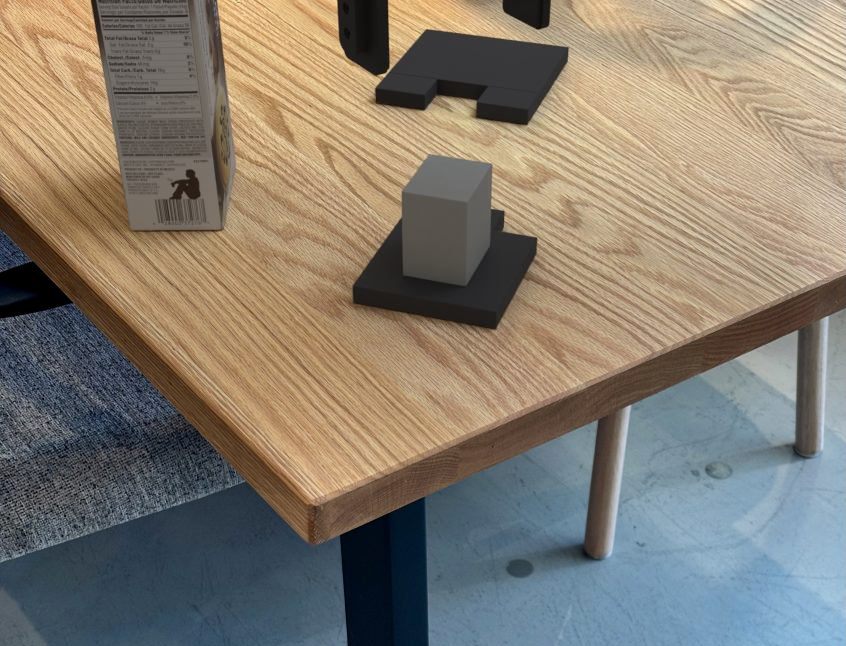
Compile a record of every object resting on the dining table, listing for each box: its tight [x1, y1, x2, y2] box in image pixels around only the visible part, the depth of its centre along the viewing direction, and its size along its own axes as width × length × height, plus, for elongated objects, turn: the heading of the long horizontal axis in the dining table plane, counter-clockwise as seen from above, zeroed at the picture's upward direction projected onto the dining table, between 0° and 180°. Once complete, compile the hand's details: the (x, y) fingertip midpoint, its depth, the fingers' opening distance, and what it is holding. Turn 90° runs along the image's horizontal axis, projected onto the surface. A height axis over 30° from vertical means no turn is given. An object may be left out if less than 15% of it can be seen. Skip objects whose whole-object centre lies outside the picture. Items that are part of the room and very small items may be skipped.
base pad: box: [374, 28, 570, 125], centre depth 103 cm, size 12×12×1 cm
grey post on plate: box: [351, 153, 538, 330], centre depth 81 cm, size 9×12×7 cm
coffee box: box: [90, 0, 237, 231], centre depth 84 cm, size 9×6×16 cm
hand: (448, 42), depth 66 cm, fingers open, 9 cm apart
